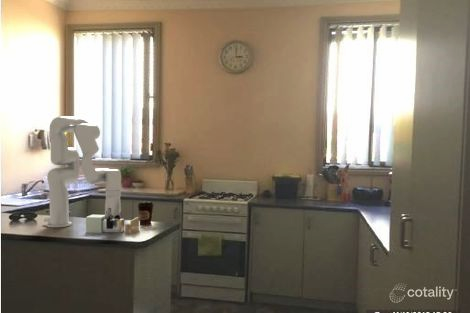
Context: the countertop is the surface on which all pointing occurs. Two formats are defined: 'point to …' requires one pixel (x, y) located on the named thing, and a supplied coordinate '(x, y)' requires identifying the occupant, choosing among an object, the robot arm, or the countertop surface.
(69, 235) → the countertop surface
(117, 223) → the white rectangular block
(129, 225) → the beige block
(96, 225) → the pale green cube
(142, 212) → the coffee cup
